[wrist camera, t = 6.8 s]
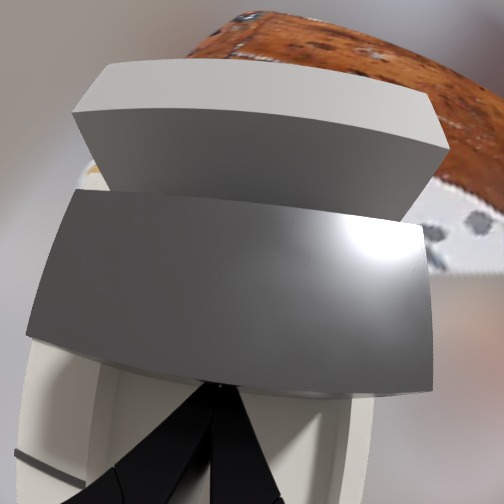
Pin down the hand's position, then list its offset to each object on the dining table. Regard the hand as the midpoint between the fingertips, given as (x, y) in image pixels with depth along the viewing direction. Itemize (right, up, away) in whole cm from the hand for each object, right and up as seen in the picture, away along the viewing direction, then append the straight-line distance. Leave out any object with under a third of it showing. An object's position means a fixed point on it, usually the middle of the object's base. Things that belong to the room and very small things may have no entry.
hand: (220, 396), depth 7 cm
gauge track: (-2, -3, +7) cm, 8 cm away
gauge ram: (-2, -1, +7) cm, 7 cm away
